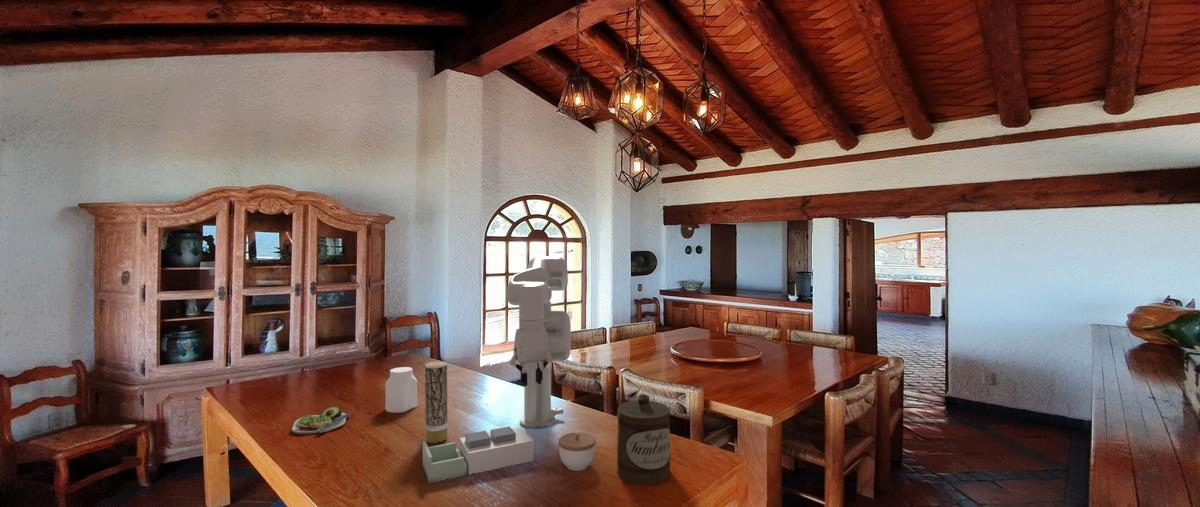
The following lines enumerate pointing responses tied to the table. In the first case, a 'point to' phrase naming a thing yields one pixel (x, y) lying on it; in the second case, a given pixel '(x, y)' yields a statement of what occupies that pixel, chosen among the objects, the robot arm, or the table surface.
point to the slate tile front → (477, 439)
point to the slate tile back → (502, 434)
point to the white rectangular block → (498, 453)
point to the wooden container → (643, 441)
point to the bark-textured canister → (436, 401)
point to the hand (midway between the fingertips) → (531, 383)
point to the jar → (401, 390)
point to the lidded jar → (577, 450)
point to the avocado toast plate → (321, 421)
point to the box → (443, 462)
